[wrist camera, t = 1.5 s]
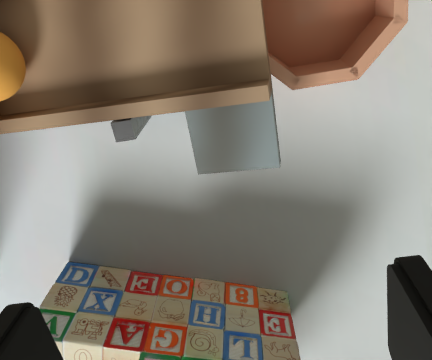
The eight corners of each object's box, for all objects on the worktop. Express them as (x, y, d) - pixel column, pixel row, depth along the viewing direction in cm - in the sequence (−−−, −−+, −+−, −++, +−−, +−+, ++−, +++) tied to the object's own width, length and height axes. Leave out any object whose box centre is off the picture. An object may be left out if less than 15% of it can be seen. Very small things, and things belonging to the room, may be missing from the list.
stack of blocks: (69, 309, 41) (6, 428, 29) (67, 259, 38) (-2, 369, 27) (276, 337, 41) (291, 465, 30) (289, 289, 38) (311, 410, 27)
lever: (256, -72, 20) (246, -86, 16) (281, 151, 26) (278, 182, 22) (-32, -7, 25) (-95, -5, 21) (39, 174, 30) (-1, 203, 26)
